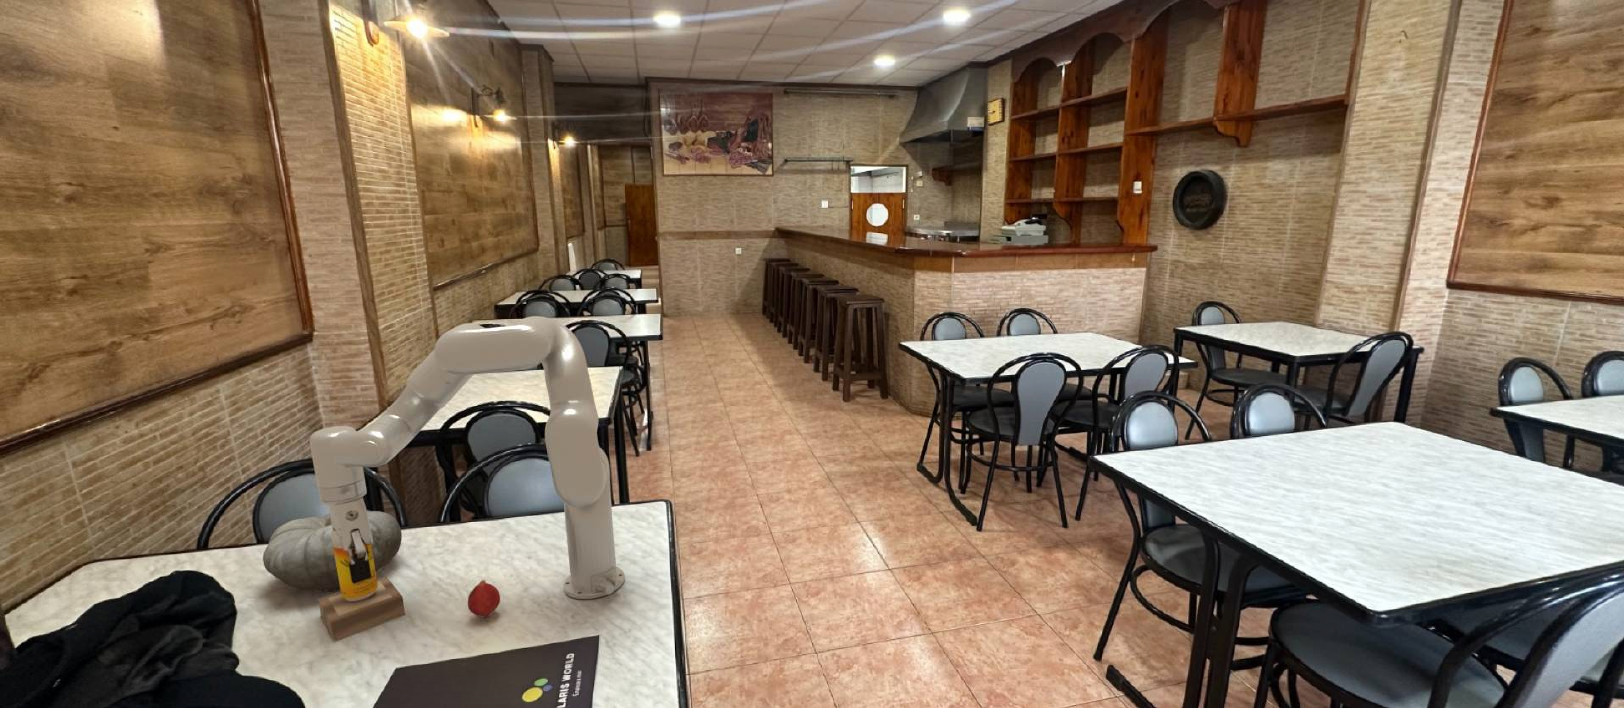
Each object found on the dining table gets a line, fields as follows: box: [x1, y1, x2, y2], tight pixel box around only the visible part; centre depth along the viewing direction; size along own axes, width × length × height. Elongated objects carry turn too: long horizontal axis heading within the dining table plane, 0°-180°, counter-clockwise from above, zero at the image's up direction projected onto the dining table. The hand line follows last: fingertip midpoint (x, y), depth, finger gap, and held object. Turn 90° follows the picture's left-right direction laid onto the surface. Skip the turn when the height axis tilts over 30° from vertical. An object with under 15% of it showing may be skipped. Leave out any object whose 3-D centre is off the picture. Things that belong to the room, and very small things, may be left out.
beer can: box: [331, 528, 378, 601], centre depth 132 cm, size 6×6×15 cm
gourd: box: [262, 509, 403, 592], centre depth 148 cm, size 25×25×17 cm
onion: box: [467, 579, 501, 618], centre depth 133 cm, size 6×6×8 cm
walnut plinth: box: [317, 575, 406, 643], centre depth 134 cm, size 12×12×4 cm
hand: (357, 573), depth 133 cm, fingers closed on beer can, 6 cm apart
